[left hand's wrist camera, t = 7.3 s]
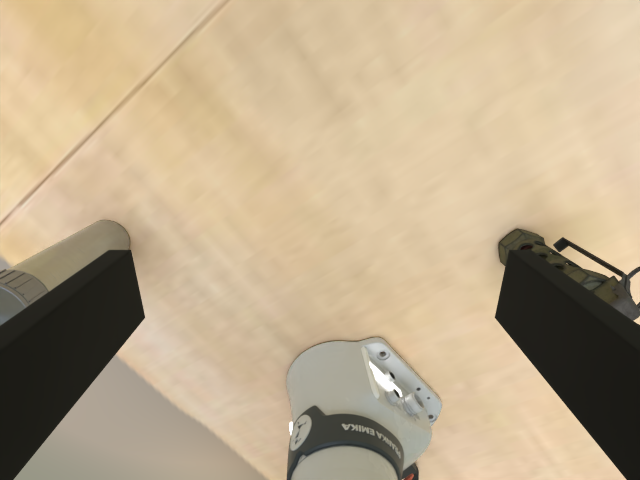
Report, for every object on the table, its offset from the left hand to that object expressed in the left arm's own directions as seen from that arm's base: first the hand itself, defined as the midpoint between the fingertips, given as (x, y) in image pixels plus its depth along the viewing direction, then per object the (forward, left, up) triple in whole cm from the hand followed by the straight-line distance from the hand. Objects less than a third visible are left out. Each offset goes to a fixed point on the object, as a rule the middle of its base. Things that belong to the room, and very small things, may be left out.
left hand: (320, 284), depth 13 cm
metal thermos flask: (+9, -25, -28) cm, 38 cm away
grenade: (+10, +25, -28) cm, 39 cm away
